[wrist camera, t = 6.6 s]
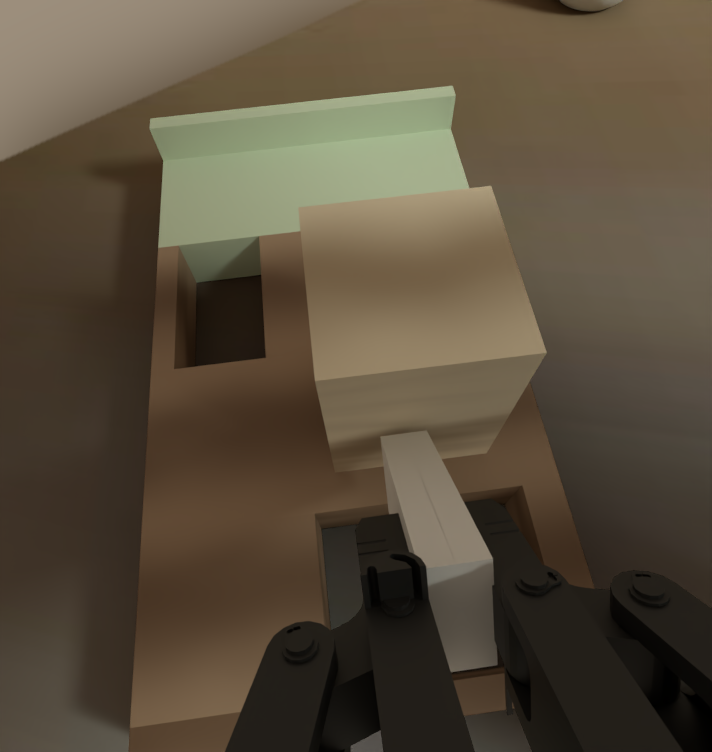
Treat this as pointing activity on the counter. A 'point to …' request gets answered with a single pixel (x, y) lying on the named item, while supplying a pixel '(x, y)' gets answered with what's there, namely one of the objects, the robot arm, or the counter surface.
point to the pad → (294, 168)
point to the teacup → (590, 4)
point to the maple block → (416, 322)
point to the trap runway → (275, 509)
